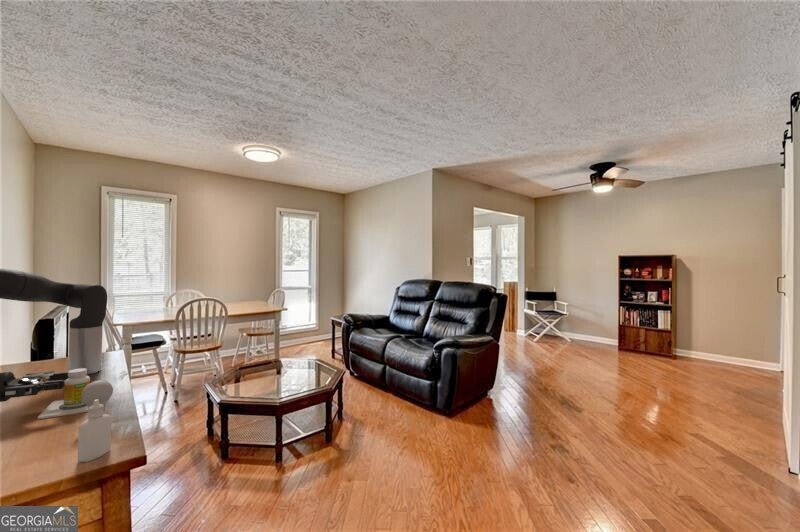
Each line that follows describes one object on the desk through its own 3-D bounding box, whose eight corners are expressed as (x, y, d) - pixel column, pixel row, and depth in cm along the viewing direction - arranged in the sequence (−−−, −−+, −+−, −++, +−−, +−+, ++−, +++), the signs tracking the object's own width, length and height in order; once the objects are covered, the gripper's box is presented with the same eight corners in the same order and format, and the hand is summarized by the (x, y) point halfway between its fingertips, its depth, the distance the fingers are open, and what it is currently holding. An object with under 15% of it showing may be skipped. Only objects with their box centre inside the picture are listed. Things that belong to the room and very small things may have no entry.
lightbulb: (76, 430, 84) (77, 386, 84) (85, 420, 89) (86, 378, 89) (108, 426, 86) (109, 382, 86) (115, 416, 92) (116, 375, 92)
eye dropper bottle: (74, 457, 72) (76, 401, 72) (108, 446, 77) (109, 393, 77) (79, 465, 70) (81, 406, 70) (114, 453, 74) (116, 398, 74)
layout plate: (53, 403, 99) (53, 400, 99) (110, 395, 106) (110, 393, 106) (37, 419, 89) (37, 416, 89) (102, 409, 96) (102, 407, 96)
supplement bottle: (73, 408, 94) (74, 373, 94) (58, 406, 95) (59, 372, 95) (94, 401, 100) (95, 368, 100) (79, 399, 101) (80, 366, 101)
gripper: (-31, 382, 82) (61, 373, 91) (-3, 367, 94) (76, 360, 103) (-33, 413, 82) (60, 401, 90) (-4, 394, 94) (75, 385, 103)
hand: (68, 379), depth 97 cm, fingers open, 8 cm apart
